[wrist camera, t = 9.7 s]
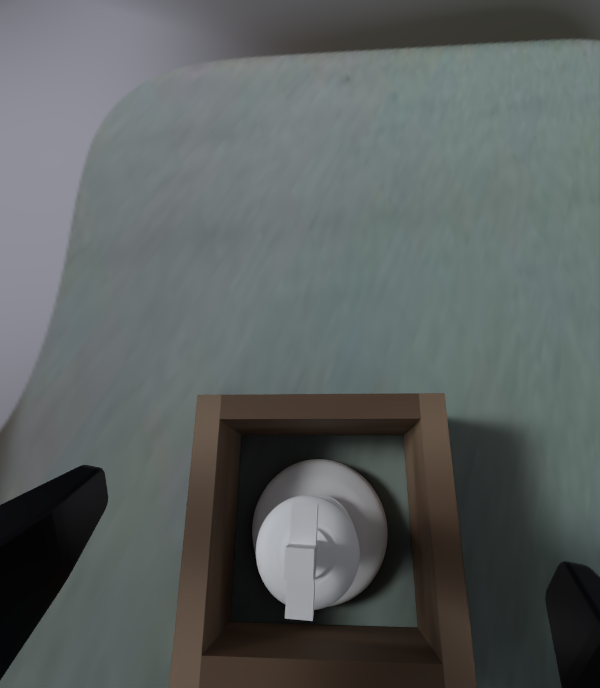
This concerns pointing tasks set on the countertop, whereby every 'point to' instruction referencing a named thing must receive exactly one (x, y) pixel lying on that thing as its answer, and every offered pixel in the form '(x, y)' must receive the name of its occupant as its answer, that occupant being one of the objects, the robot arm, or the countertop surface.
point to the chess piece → (318, 536)
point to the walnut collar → (308, 639)
